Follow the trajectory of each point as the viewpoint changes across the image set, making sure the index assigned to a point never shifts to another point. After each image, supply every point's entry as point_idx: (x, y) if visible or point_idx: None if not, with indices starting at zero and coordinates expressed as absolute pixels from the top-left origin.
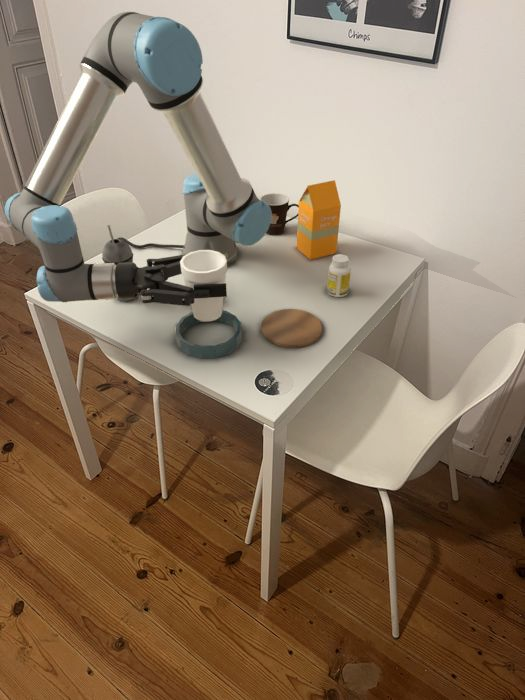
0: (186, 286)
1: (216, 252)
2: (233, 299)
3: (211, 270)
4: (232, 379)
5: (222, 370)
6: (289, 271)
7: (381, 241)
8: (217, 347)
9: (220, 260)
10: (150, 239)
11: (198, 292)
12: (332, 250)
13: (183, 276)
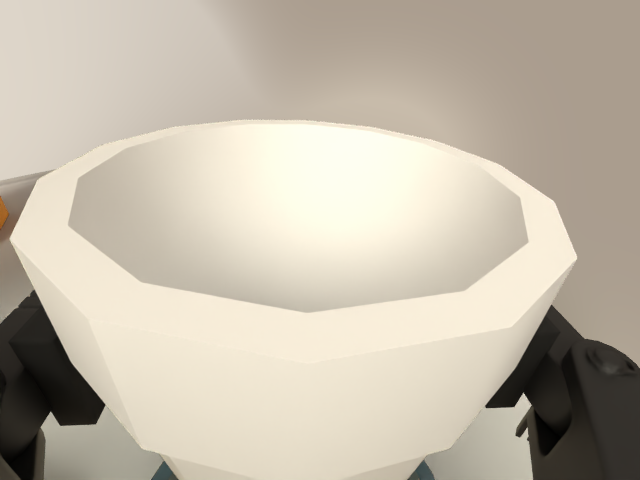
0: (589, 399)
1: (177, 130)
2: (45, 438)
3: (453, 151)
4: (503, 431)
5: (476, 467)
6: (5, 282)
7: (32, 174)
8: (425, 463)
9: (237, 164)
10: None
11: (566, 320)
12: (2, 210)
13: (467, 423)
